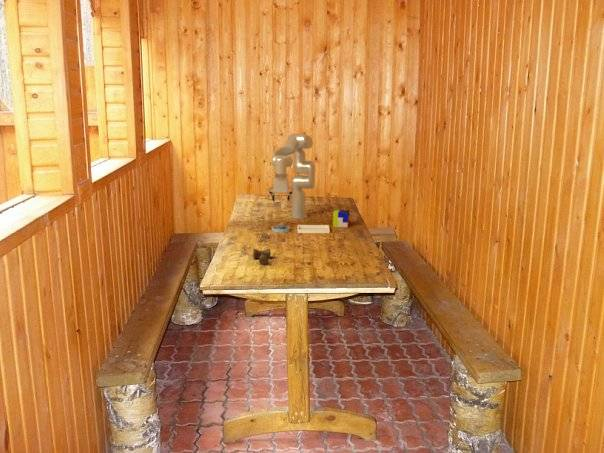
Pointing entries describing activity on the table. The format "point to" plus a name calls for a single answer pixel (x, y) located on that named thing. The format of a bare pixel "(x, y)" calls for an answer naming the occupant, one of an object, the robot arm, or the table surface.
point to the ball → (282, 225)
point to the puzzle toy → (341, 218)
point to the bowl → (278, 230)
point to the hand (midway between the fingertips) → (280, 201)
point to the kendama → (262, 256)
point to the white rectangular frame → (313, 229)
